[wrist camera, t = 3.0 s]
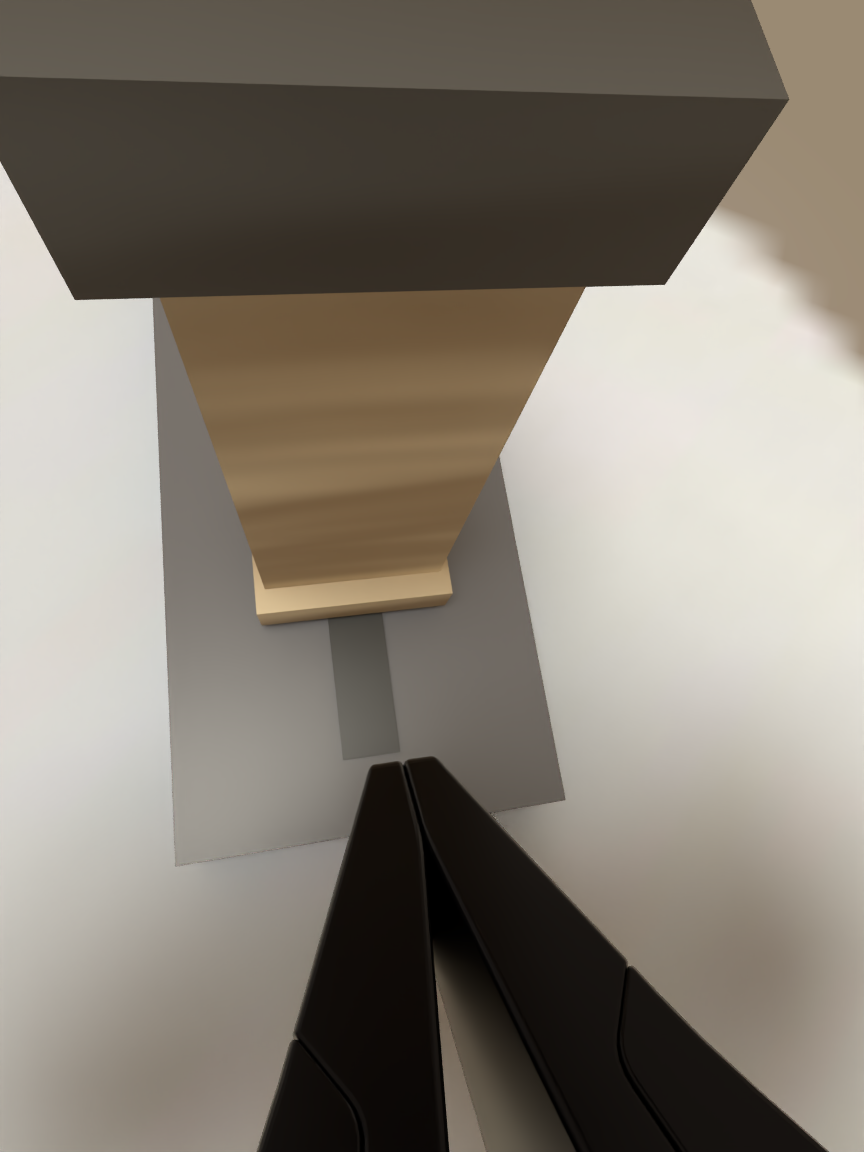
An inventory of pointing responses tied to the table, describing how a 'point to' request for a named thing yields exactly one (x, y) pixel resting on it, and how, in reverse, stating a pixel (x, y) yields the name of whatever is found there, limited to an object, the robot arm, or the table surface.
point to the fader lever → (371, 228)
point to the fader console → (330, 669)
